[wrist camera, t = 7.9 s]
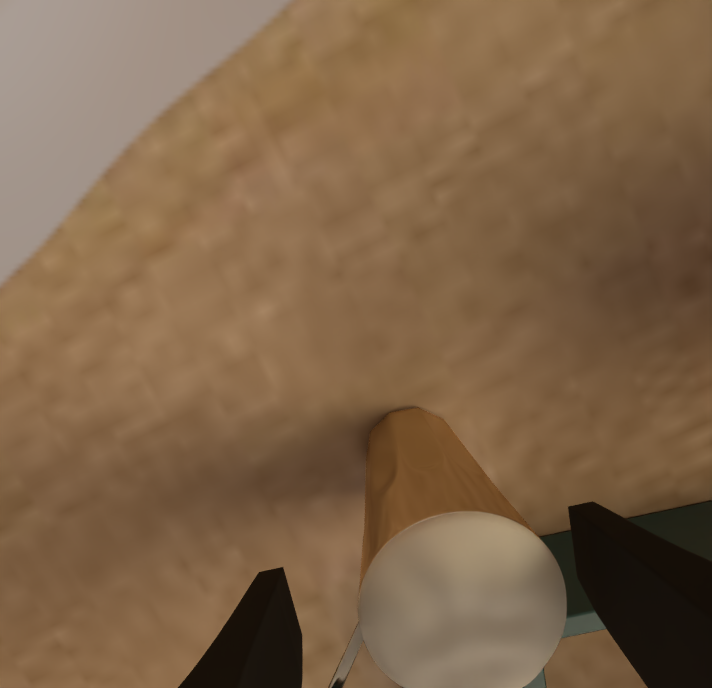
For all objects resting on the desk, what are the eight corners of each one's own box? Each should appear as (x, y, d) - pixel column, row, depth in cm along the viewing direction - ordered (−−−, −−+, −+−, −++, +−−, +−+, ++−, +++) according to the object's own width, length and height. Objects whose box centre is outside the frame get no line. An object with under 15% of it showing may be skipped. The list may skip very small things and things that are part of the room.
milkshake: (314, 405, 19) (295, 613, 9) (464, 378, 19) (604, 558, 9) (338, 518, 20) (342, 810, 10) (478, 492, 20) (618, 761, 10)
